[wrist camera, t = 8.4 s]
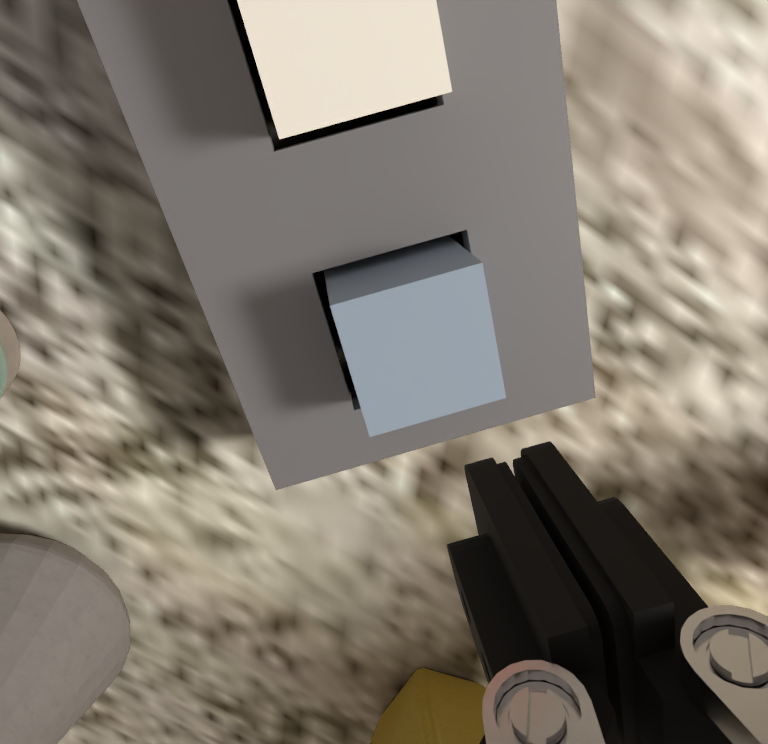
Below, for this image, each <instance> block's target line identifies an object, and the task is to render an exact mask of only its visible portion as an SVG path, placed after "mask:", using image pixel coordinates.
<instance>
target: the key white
mask: <svg viewBox="0 0 768 744" xmlns="http://www.w3.org/2000/svg"><path fill="white" fill-rule="evenodd" d="M237 2H238V5H239V9H240V12H241V15H242V19H243V22H244V25H245V28H246V32H247V35H248V38H249V42H250V45H251V48H252V52H253V55H254V58H255V61H256V65H257V68H258V71H259V75H260V78H261V81H262V84H263V88H264V91H265V94H266V98H267V101H268V104H269V107H270V111H271V114H272V117H273V121H274V124H275V127H276V130H277V134H278V137H279V139H283V138H286V137H290V136H294V135H297V134H301V133H305V132H308V131H312V130H315V129H319V128H323V127H326V126H330V125H334V124H337V123H341V122H344V121H348V120H352V119H355V118H359V117H363V116H366V115H370V114H373V113H377V112H381V111H384V110H388V109H392V108H395V107H399V106H402V105H406V104H410V103H413V102H417V101H420V100H424V99H428V98H431V97H435V96H439V95H442V94H446V93H449V92H452V87H451V81H450V76H449V70H448V64H447V59H446V53H445V47H444V41H443V36H442V30H441V24H440V19H439V13H438V7H437V2H436V0H237Z"/></svg>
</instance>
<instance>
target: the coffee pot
mask: <svg viewBox="0 0 768 744" xmlns="http://www.w3.org/2000/svg"><path fill="white" fill-rule="evenodd" d="M129 649H130V620H129V616H128V612H127V609H126V606H125V604H124V601H123V598H122V596H121V593H120V591H119V589H118V588H117V586H116V585H115V584H114V583H113V581H112V580H111V579H110V578H109V576H108V575H107V574H106V573H105V571H104V570H103V569H101V568H100V567H99V566H97V565H96V564H95V563H93V562H92V561H91V560H89V559H88V558H87V557H85V556H84V555H82V554H81V553H80V552H78V551H77V550H75V549H74V548H71V547H69V546H67V545H65V544H62V543H60V542H58V541H56V540H51V539H47V538H43V537H38V536H31V535H24V534H0V744H57V743H58V742H59V741H60V740H61V738H62V737H63V736H64V735H65V734H66V733H67V732H68V731H69V730H70V729H71V727H72V726H73V725H74V724H75V723H76V722H77V721H78V720H79V719H80V717H81V716H82V715H83V714H84V713H85V712H86V711H87V710H88V709H89V707H90V706H91V705H92V704H93V703H94V702H95V701H96V700H97V699H98V697H99V696H100V695H101V694H102V693H103V692H104V691H105V690H106V688H107V687H108V686H109V685H110V684H111V682H112V681H113V680H114V679H115V678H116V677H117V675H118V674H119V673H120V671H121V669H122V667H123V665H124V662H125V660H126V657H127V654H128V652H129Z"/></svg>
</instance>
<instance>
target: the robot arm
mask: <svg viewBox="0 0 768 744" xmlns="http://www.w3.org/2000/svg"><path fill="white" fill-rule="evenodd" d="M464 467H465V474H466V478H467V483H468V488H469V492H470V497H471V501H472V506H473V511H474V515H475V520H476V524H477V529H478V534H479V535H478V536H475V537H471V538H468V539H464V540H461V541H457V542H454V543H450V544H447V548H448V552H449V557H450V560H451V564H452V568H453V572H454V576H455V580H456V584H457V587H458V591H459V594H460V598H461V601H462V604H463V608H464V611H465V614H466V617H467V620H468V623H469V627H470V630H471V633H472V636H473V639H474V642H475V645H476V648H477V651H478V654H479V657H480V660H481V663H482V666H483V669H484V672H485V675H486V678H487V681H488V686H487V689H486V691H485V694H484V697H483V700H482V718H483V725H484V732H485V734H484V736H483V738H482V740H481V741H480V743H479V744H768V616H766V615H763V614H761V613H758V612H756V611H754V610H751V609H747V608H742V607H737V606H732V605H725V606H711V607H708V606H707V605H706V604H705V602H704V601H703V600H702V599H701V597H700V596H699V595H698V594H697V593H696V591H695V590H694V589H693V588H692V587H691V585H690V584H689V583H688V582H687V581H686V579H685V578H684V577H683V576H682V575H681V573H680V572H679V571H678V570H677V569H676V567H675V566H674V565H673V564H672V562H671V561H670V560H669V559H668V558H667V556H666V555H665V554H664V553H663V552H662V550H661V549H660V548H659V547H658V546H657V544H656V543H655V542H654V541H653V540H652V538H651V537H650V536H649V535H648V534H647V532H646V531H645V530H644V529H643V527H642V526H641V525H640V524H639V523H638V521H637V520H636V519H635V518H634V517H633V515H632V514H631V513H630V512H629V511H628V509H627V508H626V507H625V506H624V505H623V504H622V503H621V502H620V501H619V500H618V499H617V498H614V497H612V498H609V499H605V500H602V501H598V502H597V501H596V499H595V498H594V497H593V496H592V494H591V493H590V492H589V490H588V489H587V488H586V486H585V485H584V484H583V483H582V481H581V480H580V479H579V477H578V476H577V475H576V473H575V472H574V471H573V469H572V468H571V467H570V466H569V464H568V463H567V462H566V460H565V459H564V458H563V456H562V455H561V454H560V453H559V451H558V450H557V449H556V447H555V446H554V445H553V444H552V443H551V442H545V443H542V444H538V445H535V446H531V447H528V448H524V449H522V450H521V457H520V458H517V459H514V460H513V468H514V474H515V476H514V475H513V473H512V471H511V470H510V468H509V466H508V465H507V463H506V462H503V463H499V464H496V462H495V460H494V459H493V458H488V459H485V460H481V461H478V462H474V463H471V464H467V465H465V466H464Z"/></svg>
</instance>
